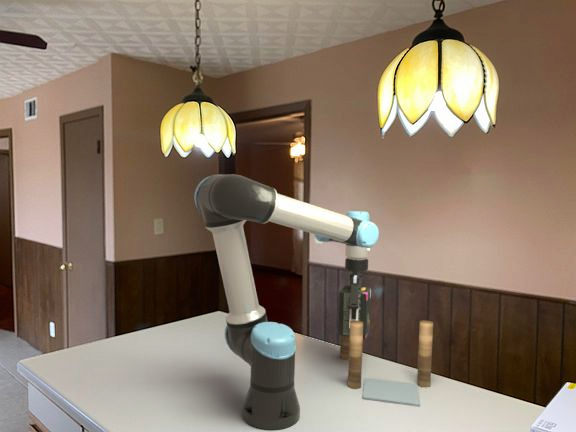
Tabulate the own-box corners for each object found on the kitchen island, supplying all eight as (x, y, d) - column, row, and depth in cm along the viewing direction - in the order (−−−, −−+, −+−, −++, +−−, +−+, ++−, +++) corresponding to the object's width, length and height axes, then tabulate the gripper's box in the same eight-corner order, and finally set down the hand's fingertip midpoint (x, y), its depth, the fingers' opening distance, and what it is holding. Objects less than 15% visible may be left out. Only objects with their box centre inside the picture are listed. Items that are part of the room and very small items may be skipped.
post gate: (350, 360, 158) (352, 304, 157) (339, 358, 159) (341, 303, 157) (351, 356, 162) (353, 302, 160) (340, 354, 162) (342, 301, 161)
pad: (420, 406, 125) (420, 404, 125) (362, 399, 128) (362, 397, 128) (417, 385, 138) (417, 383, 138) (365, 379, 142) (365, 377, 142)
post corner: (360, 389, 134) (362, 324, 133) (347, 388, 135) (349, 323, 134) (361, 384, 138) (363, 321, 137) (348, 382, 139) (350, 320, 138)
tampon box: (365, 339, 141) (367, 294, 140) (337, 335, 144) (338, 291, 143) (370, 329, 151) (371, 287, 150) (343, 326, 154) (344, 284, 153)
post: (430, 388, 136) (433, 324, 135) (417, 386, 137) (420, 323, 136) (429, 383, 140) (432, 321, 139) (416, 381, 141) (419, 319, 140)
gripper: (367, 264, 134) (364, 335, 135) (369, 253, 157) (367, 314, 158) (342, 262, 135) (340, 333, 137) (348, 252, 158) (346, 312, 160)
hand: (354, 323), depth 147 cm, fingers closed on tampon box, 11 cm apart
